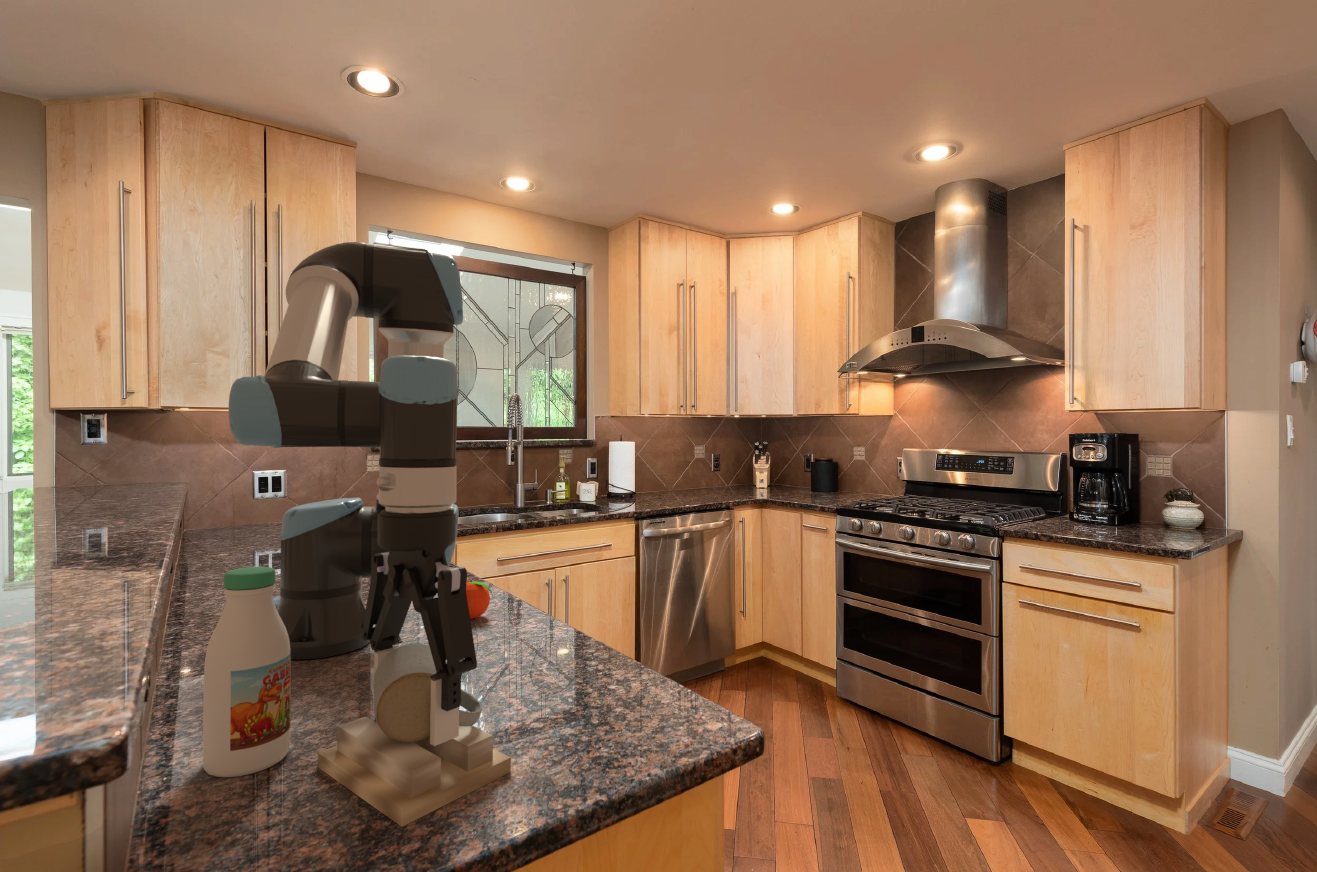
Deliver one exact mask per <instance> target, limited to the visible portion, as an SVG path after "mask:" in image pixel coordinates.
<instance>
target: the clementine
mask: <svg viewBox="0 0 1317 872" xmlns="http://www.w3.org/2000/svg"><path fill="white" fill-rule="evenodd" d="M490 593H491V595H492V597H494V596H493V593H492V589H491V588H490V586H488V585H487V584H485V583H483V582H481V581H475V580H469V581H468V580H467V583H466V594H467V601H468V607H469V614H470V620H474V619H477V618H479V617H481V616H482V615H483V614H485V613H486V611H487V610H488V608H489V605H490V601H491V596H490ZM473 618H474V619H473Z"/></svg>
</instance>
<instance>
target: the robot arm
mask: <svg viewBox="0 0 1317 872" xmlns="http://www.w3.org/2000/svg"><path fill="white" fill-rule="evenodd" d="M459 271H460V270H459V266H458V262H457V261H456V259H455V258H454V257H453V256H452V255H451V254H449V253H446V252H441V251H436V250H432V249H429V248H418V247H417V248H416V247H407V246H395V245H385V244H377V243H367V242H360V241H359V242H358V241H350V242H346V241H345V242H342V243H336V244H333V245H329V246H326V247H324V248H322V249H319V250H317V251H316V252H313V253H312V254H311V255H309V256H307V257H306V258H304V259H302V260H301V261H300V263H298V264H297V266H296V267H294V269H292V272H291V273H290V275H289V278H288V281H287V283H286V287H285V298H286V302H287V304H288V305H287V308H286V310H285V311H286V312H285V315H284V316H283V317H284V318H283V321H282V323H281V326H280V329H279V332H278V335H277V337H276V341H275V343H274V346H273V348H272V352H271V355H270V357H269V361H268V364H267V367H266V370H265V373H264V375H261V374H257V375H255V376H242V377H240V378H237V379H235V380H234V381H233V383H232V384H231V386H230V387H231V388H230V391H229V396H228V423H229V430H230V433H231V435H232V437H233V439H234V440H235V441H236V442H237V443H239V444H241V445H242V446H243V445H244V446H258V447H272V448H273V449H280V448H320V447H321V448H327V447H328V448H329V447H330V448H331V447H332V448H335V447H338V448H339V447H341V448H342V447H343V448H379V458H378V466H379V467H378V469H379V470H378V477H377V479H376V485H377V486H378V494H377V495H376V505H373V506H372V505H371V506H364V501H363V500H362V498H360V497H349V498H348V497H343V498H335V499H328V500H322V501H321V500H319V501H313V502H309V503H308V502H307V503H304V504H300V505H297V506H293V507H290V508H289V509H288V510H286V511H285V512H284V514H283V515H282V519H281V530H280V536H279V541H280V581H279V582H280V584H279V585H280V590H279V591H280V592H279V596H280V602H279V605H278V608H277V612H278V614H279V616H280V618H281V620H282V621H283V623H284V625H285V627H286V630H287V633H288V637H289V642H290V657H291V660H313V659H321V658H322V659H323V658H328V657H329V658H330V657H334V656H339V655H342V654H348V653H350V652H353V651H356V650H359V649H361V648H363V647H365V646H367V645H368V644H369V646H370V648H371V650H372V651H374V652H373V655H374V656H373V657H374V658H373V660H374V661H373V676H374V675H375V672H376V670H377V668H378V666H379V664H380V663H381V661H382V660H383V659H384V657H385V656H386V655H387V654H389V653H390V652H391V651H393V650H394V649H396V648H398V647H400V646H398V644H402V643H403V642H404V640H403V639H402V638H401V636H400V634H401V631H402V629H403V627H404V623H405V621H406V618H407V615H408V612H409V609H410V607H411V605H412V607H413V609H414V611H416V612H417V613H419V614H420V616H421V618H420V619H421V621H422V624H423V628H424V631H425V635H426V639H427V642H428V646H429V647H430V650H431V654H432V658H433V661H434V665H435V668H436V672H437V673H435V674H433V675H432V676H430V677H431V710H430V744H431V745H433V746H436V745H439V744H441V743H443V742H446V741H448V740H451V739H453V738H455V737H458V736H459V710H460V707H461V706H460V703H461V697H460V696H461V689H462V676H463V674H464V673H468V672H471V671H474V670H476V669H477V667H478V662H477V655H476V648H475V641H474V640H475V639H474V636H473V630H472V629H473V627H472V621H471V620H472V619H470V614H469V607H468V601H467V594H466V583H467V582H468V580H467V578H468V571H467V568H466V567H465V566H459V567H454V568H453V567H451V566H450V564H451V562H452V560H453V557H454V556H453V555H454V552H455V549H456V542H457V536H458V528H459V526H458V525H459V524H458V522H459V515H460V513H459V507H458V505H457V504H455V503H456V502H457V495H458V493H457V490H458V489H457V486H458V485H457V484H458V483H457V482H458V481H457V480H458V478H457V473H458V472H457V470H458V469H457V468H458V466H457V457H456V455H457V436H458V435H457V430H458V429H457V428H458V397H459V395H460V389H459V386H458V369H457V365H456V364H455V362H453V361H452V360H449V359H447V358H444V353H445V352H444V349H445V347H444V345H445V344H446V343H447V342H448V341H449V340H450V339H451V338H452V337H454V328H455V327H454V326H458V325H462V324H463V323H464V322H463V321H464V311H463V305H464V301H463V300H464V299H463V292H462V283H461V276H460V272H459ZM353 317H356V318H359V317H360V318H367V319H368V318H369V319H378V331H379V332H380V334H382V335H383V337H384V338H385V339H386V340H387V343H388V345H387V346H388V347H387V348H388V349H387V351H388V353H387V357H386V358H384V359H383V361H382V362H381V366H380V377H379V381H363V380H361V381H358V380H348V379H347V380H341V379H340V380H339V376H340V370H341V364H342V360H343V354H344V347H345V340H346V335H347V330H348V324H349V321H350V320H351V319H352V318H353ZM362 578H370V583H369V587H368V594H367V601H366V604H365V601H364V599H363V596H362V586H361V585H362ZM436 596H437V597H436ZM395 645H397V646H395ZM393 646H394V647H393ZM446 662H447V664H446ZM372 706H373V707H372V708H373V709H372V711H373V714H374V715H375V713H374V705H372Z"/></svg>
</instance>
